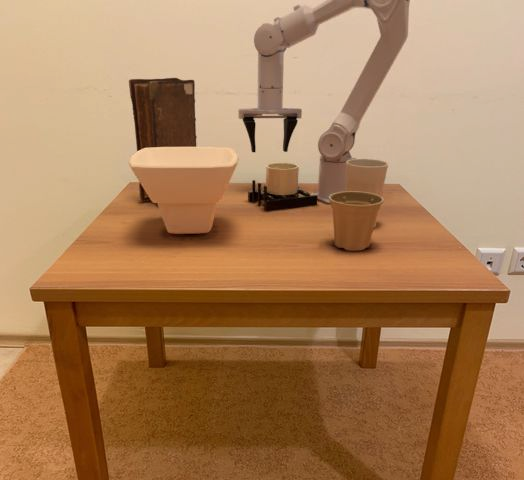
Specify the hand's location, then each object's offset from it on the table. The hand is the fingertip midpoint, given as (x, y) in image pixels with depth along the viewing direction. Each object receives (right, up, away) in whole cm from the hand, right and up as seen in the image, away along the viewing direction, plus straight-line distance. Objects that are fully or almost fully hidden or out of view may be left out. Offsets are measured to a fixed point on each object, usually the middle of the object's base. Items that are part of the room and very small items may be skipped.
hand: (269, 151), depth 122 cm
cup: (+18, -22, -18) cm, 34 cm away
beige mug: (+2, -10, -4) cm, 11 cm away
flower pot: (+15, -29, -29) cm, 43 cm away
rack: (+3, -14, -4) cm, 15 cm away
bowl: (-16, -25, -23) cm, 37 cm away
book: (-22, -12, -1) cm, 25 cm away
